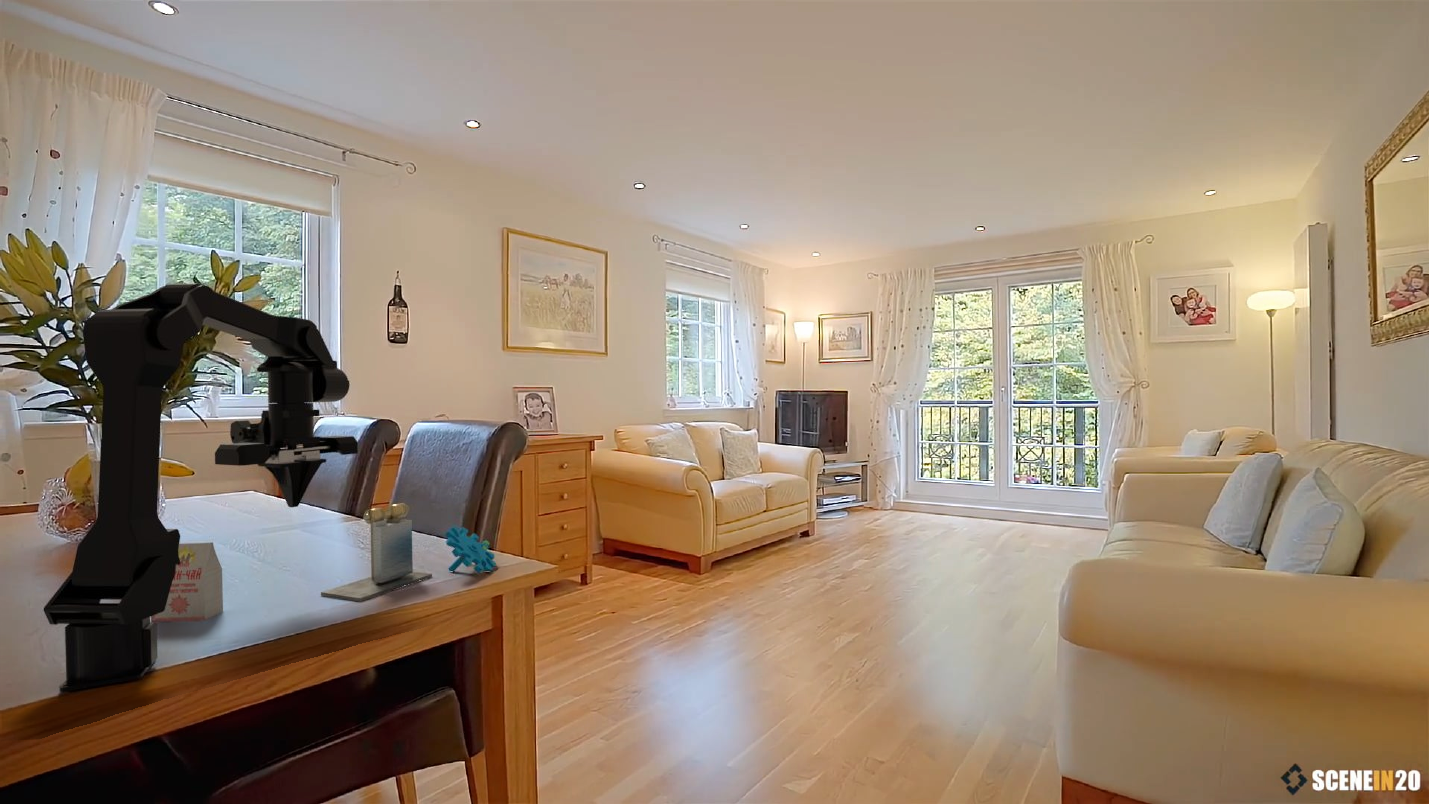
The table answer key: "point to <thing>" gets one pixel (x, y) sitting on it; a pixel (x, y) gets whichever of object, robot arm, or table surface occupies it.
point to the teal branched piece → (469, 550)
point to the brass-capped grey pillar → (390, 546)
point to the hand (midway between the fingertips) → (293, 506)
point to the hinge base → (367, 586)
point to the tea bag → (194, 585)
